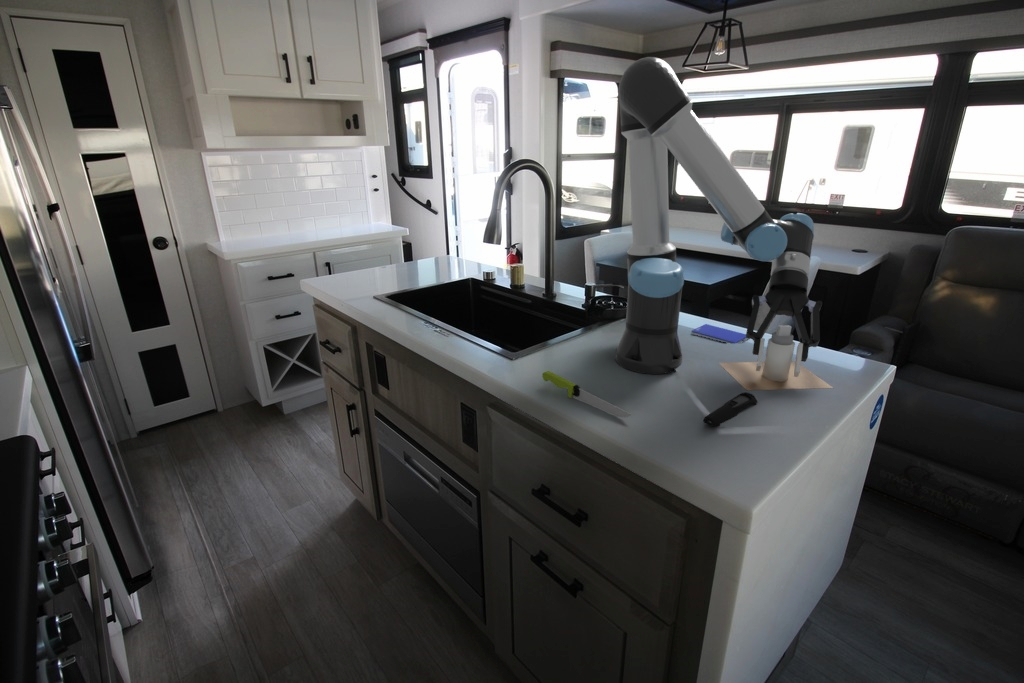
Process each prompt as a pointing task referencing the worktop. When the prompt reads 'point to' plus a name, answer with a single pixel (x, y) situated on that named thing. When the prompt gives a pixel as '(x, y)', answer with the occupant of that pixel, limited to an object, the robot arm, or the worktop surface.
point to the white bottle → (779, 354)
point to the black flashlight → (730, 409)
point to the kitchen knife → (583, 395)
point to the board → (755, 380)
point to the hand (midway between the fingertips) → (777, 371)
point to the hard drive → (719, 334)
